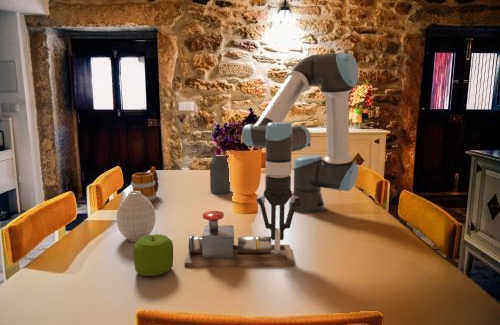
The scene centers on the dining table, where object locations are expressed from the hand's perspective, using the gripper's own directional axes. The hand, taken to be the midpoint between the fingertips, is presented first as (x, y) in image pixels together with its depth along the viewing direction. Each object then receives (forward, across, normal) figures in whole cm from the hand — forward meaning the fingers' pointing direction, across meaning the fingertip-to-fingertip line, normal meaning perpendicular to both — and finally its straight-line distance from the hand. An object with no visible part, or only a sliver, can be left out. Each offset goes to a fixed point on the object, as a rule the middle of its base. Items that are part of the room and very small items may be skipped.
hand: (277, 249), depth 113 cm
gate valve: (+2, +20, 0) cm, 20 cm away
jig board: (+3, +12, 0) cm, 12 cm away
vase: (+3, +47, -15) cm, 50 cm away
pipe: (+1, +7, 0) cm, 7 cm away
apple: (+3, +36, +9) cm, 37 cm away
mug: (+3, +57, -62) cm, 84 cm away
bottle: (+3, +23, -76) cm, 79 cm away
